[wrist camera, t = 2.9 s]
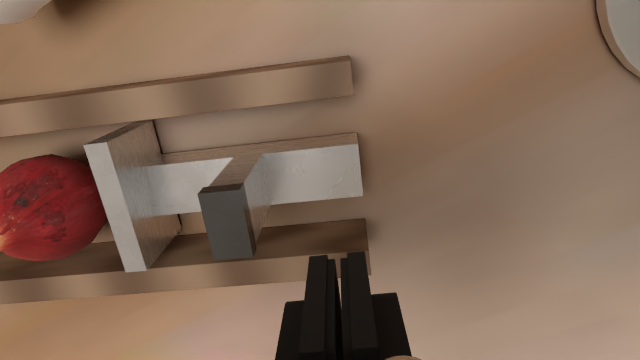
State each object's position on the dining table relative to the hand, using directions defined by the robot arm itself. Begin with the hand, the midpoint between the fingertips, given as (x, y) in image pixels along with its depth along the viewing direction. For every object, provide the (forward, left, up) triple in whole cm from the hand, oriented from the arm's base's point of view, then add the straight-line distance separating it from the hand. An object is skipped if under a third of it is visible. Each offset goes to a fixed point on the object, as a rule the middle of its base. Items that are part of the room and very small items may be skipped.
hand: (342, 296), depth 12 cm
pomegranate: (+16, 0, -14) cm, 21 cm away
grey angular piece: (+6, 0, -13) cm, 14 cm away
